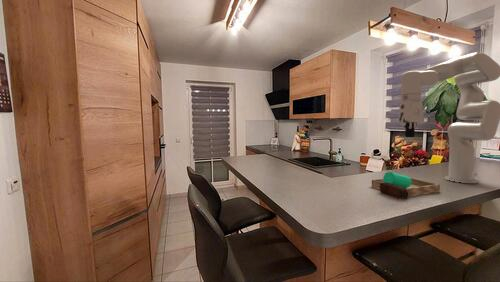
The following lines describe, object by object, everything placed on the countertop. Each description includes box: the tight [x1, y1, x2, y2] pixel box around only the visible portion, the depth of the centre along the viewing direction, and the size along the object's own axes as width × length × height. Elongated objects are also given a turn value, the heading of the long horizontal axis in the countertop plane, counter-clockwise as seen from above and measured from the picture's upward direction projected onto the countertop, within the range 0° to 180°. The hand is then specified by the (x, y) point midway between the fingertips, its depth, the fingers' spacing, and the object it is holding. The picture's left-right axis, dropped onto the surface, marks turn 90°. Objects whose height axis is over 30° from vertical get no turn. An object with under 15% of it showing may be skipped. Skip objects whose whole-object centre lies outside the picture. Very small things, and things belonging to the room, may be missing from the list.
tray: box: [371, 177, 441, 198], centre depth 101 cm, size 21×17×3 cm
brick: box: [379, 182, 409, 200], centre depth 92 cm, size 11×4×5 cm, turn 15°
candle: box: [382, 171, 412, 188], centre depth 99 cm, size 6×6×12 cm
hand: (409, 137), depth 100 cm, fingers closed
